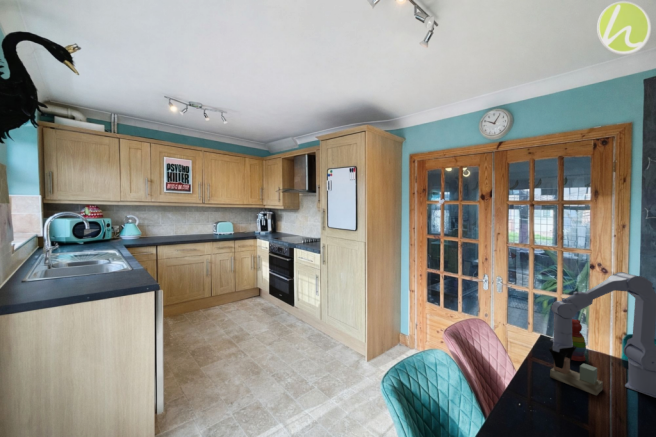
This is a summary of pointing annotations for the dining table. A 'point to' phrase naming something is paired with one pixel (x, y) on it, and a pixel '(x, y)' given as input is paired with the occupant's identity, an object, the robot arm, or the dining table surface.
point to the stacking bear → (578, 341)
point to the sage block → (588, 373)
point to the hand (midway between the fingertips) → (562, 364)
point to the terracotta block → (564, 366)
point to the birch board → (577, 381)
